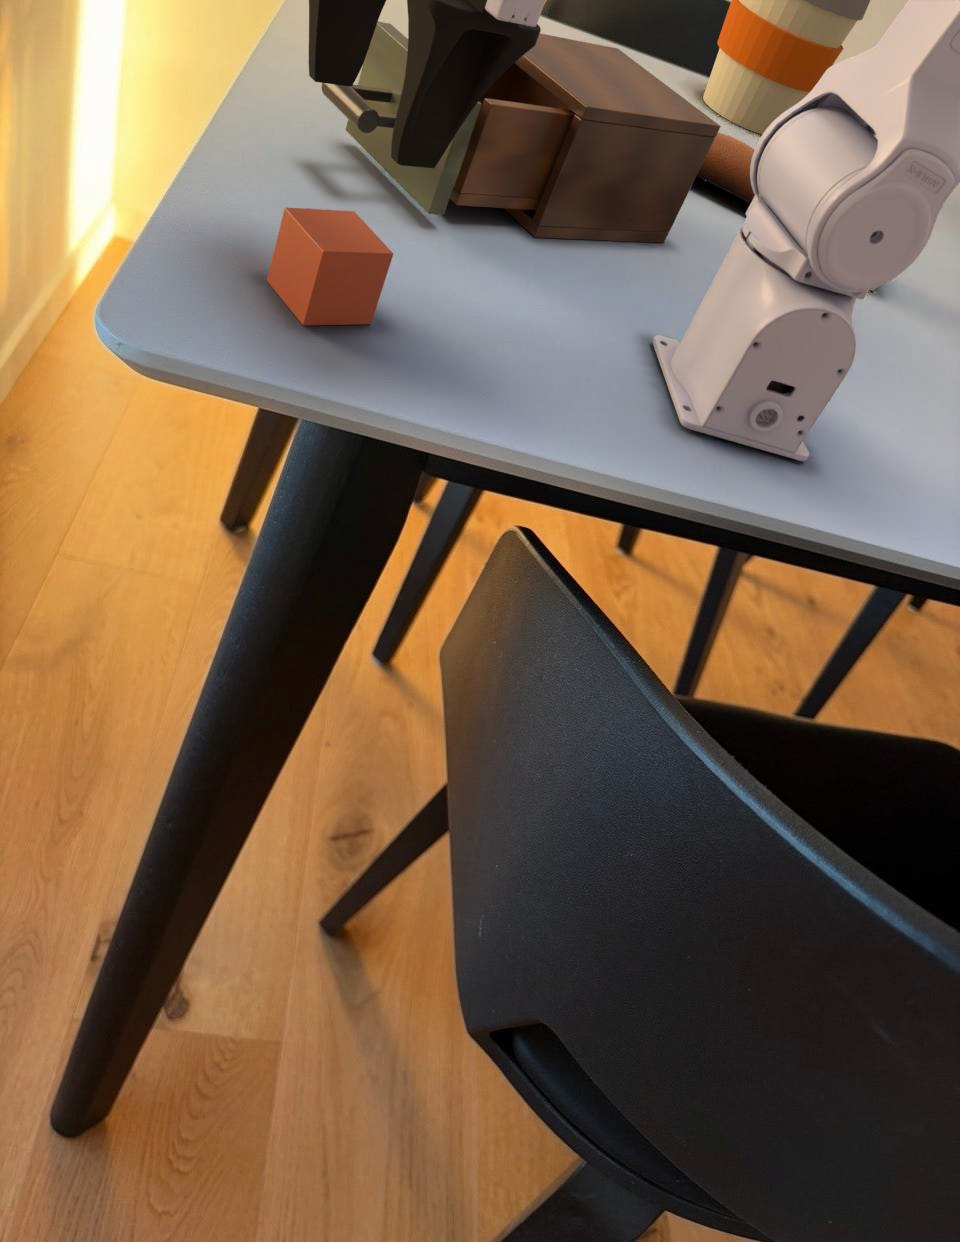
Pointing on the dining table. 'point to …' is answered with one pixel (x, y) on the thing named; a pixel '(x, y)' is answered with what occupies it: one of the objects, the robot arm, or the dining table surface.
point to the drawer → (460, 133)
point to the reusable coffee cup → (775, 55)
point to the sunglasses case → (729, 166)
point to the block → (328, 266)
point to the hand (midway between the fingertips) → (370, 120)
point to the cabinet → (614, 146)
